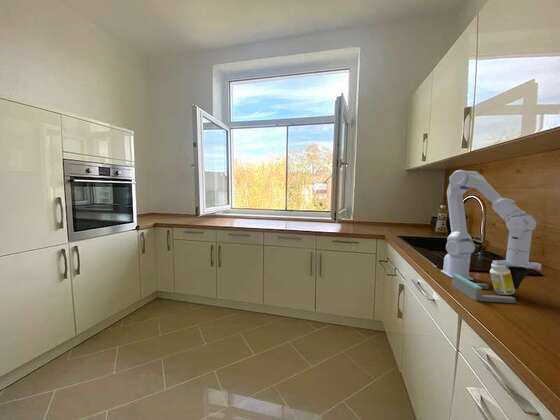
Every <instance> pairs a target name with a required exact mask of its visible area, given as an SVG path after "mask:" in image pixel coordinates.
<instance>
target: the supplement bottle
mask: <svg viewBox="0 0 560 420" xmlns="http://www.w3.org/2000/svg"><path fill="white" fill-rule="evenodd" d="M490 266H491V268H490V270H489V273H490V278H491V282H492V285H493V290H494V292H495V293H497V294H498V295H501V296H509V295H510V296H511V295H513V294H515V292H516V289H514V284H513V280H512V276H511V272H510V270H509V269H508V268H507V267H506V265H499V266H495V265H493V264H492V263H491V265H490Z"/></svg>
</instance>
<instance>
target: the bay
mask: <svg viewBox="0 0 560 420" xmlns="http://www.w3.org/2000/svg"><path fill="white" fill-rule="evenodd" d="M451 287H453V288H454V289H456V290H458V291H459V292H461V293H463V294H464V295H465V296H467V297H469V298H470V299H472V300H474V301H475V302H491V303H507V304H515V303H516V297H513V296H509V295H489V294H488V295H487V294H482V290H489V288H490V285H489V284H488V283H479V282H473V281H472V280H467V279H465V278H463V277H462V276H460V275H458V274H453V275H452V278H451Z"/></svg>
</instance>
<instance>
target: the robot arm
mask: <svg viewBox="0 0 560 420" xmlns="http://www.w3.org/2000/svg"><path fill="white" fill-rule="evenodd" d="M448 179H449V180H448V181H449V184H448V185H447V190H446V197H447V198H446V199H447V206H448V208H447V209H448V216H449V217H448V218H449V225H450V231H451V232H450V234H449V235H448V236H447V238H446V239H447V241H446V244H445V250H446V252H447V254H446V255H444V257H443V267H442V270H440V272H441V273H443V274H444V275H446V276H447V277H449V278H451V279H452V275H453V274H458V275H460V276H462V277H463V278H465V279H467V280H469V281H474V278H473V277H472V276H470V275H469V274H470V273H469V271H470V264H471V256H472V254H473V253H474V252H475V250H476V244H475V243H474V241H473V239H472V235H470V233H469V232H468V229H467V228H468V227H467V221H466V220H467V219H466V212H465V205H464V194H466V192H467V191H469V190H470V189H476V190H477V191H478V192H479V193H481V195H483V196H484V197H485V198H486V199H487V200H488V201H490V203H492V204H491V209H492V210H493V211H494V212H495V213H496V214H497V215H499V216H500V218H501V219H503V220H504V222H505V225H506V226H505V227H506V228H507V229H508V231H509V232H508V238H507V249H506V256H505V259H502V260H501V259H500V260H496V259H495V260H494V259H493V260H492V263H491V264H493V265H495V266H499V265H506V267H507V268H508V269H509V270H510V272H511V276H512V280H513V284H514V289H515V290H518V289H519V287H520V286H521V284H522V282H523V280H524V279H525V278H526V277H527V276H528V275H529V274H530V270H529V269H534V270H535V269H536V270H542V263H539V262H532V261H529V260H530V252H531V244H532V235H533V230H535V229H536V227H537V225H538V224H537V221H536V219H535V217H534V216H533V215H530V214H526V213H527V212H526V211H525V210H521V208H520V207H518V205H516V201H515V200H514V199H510V198H508V197H502V196H501V194H499V193H498V191H497V190H496V189H495V188H494V187H493V186H492V185H491V184H490V183H489V182H488V181H487V180H486V178H485V177H484V176H483V175H481V173H480V172H478V171H477V170H463V169H457V170H455V171H454V172H453V173H451V175H449V177H448Z"/></svg>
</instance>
